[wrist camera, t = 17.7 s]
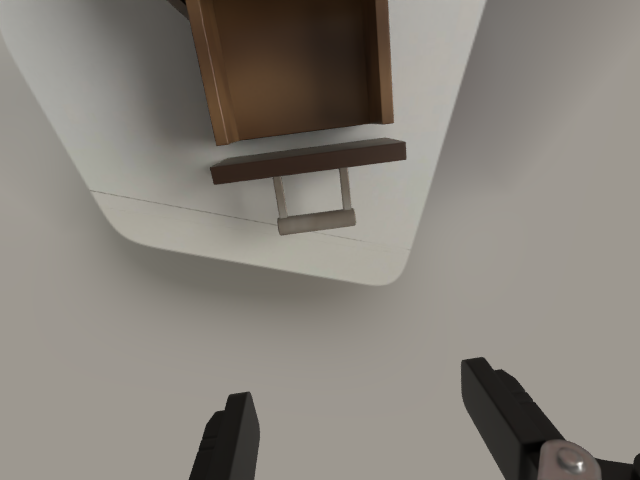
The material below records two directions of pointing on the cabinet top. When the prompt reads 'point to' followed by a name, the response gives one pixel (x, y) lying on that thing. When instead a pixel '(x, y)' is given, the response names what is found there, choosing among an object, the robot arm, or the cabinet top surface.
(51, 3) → the cabinet top surface
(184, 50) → the cabinet top surface
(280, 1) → the drawer
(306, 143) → the cabinet top surface
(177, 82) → the cabinet top surface
